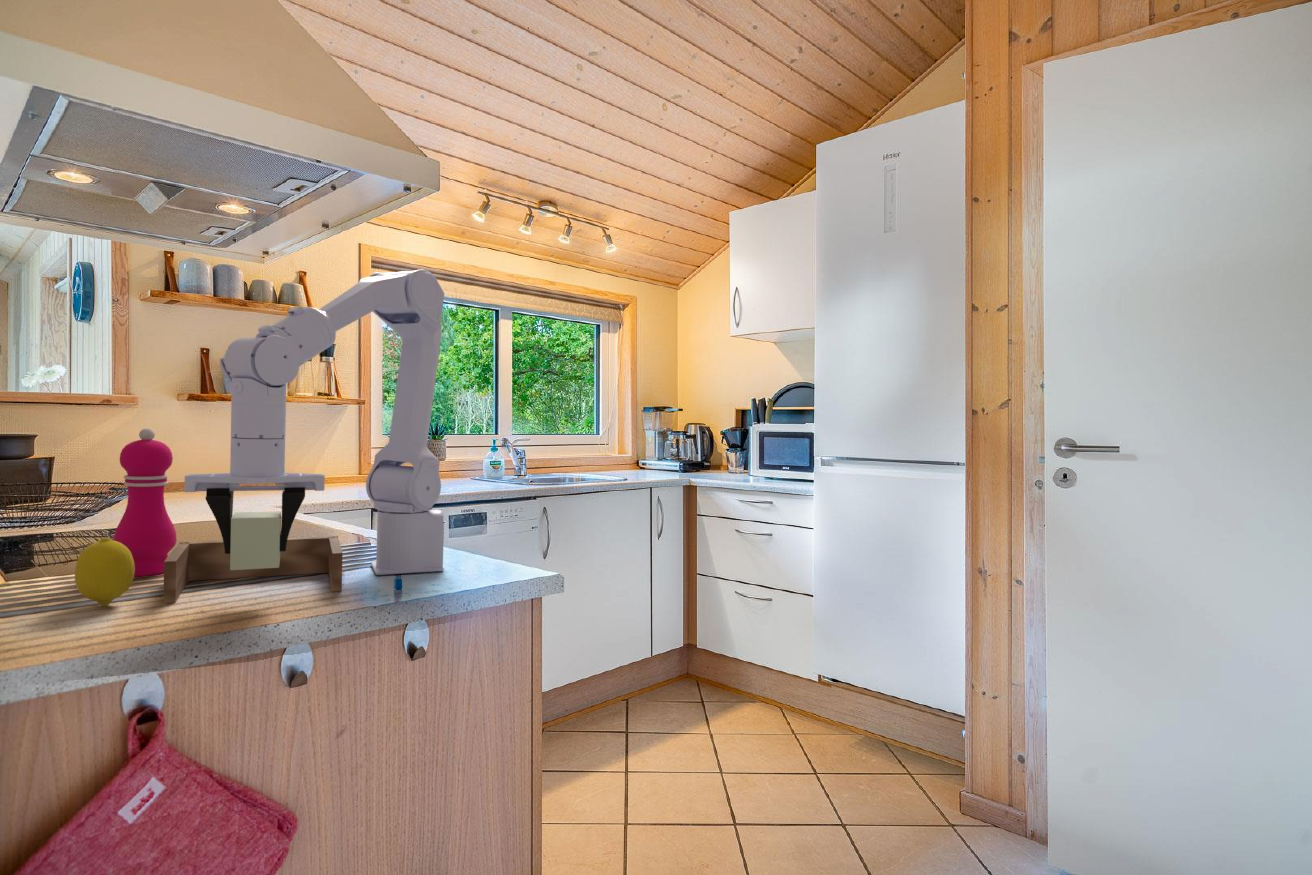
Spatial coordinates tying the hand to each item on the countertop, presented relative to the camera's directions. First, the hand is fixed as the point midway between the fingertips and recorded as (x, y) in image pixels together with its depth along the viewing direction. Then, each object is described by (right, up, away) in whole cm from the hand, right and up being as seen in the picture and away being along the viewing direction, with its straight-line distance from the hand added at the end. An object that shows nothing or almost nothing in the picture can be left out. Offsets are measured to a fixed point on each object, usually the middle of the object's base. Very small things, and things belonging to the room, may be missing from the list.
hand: (256, 551), depth 86 cm
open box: (-5, -6, +9) cm, 12 cm away
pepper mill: (-23, -5, +14) cm, 27 cm away
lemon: (-16, -6, -3) cm, 17 cm away
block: (0, -2, 0) cm, 2 cm away
